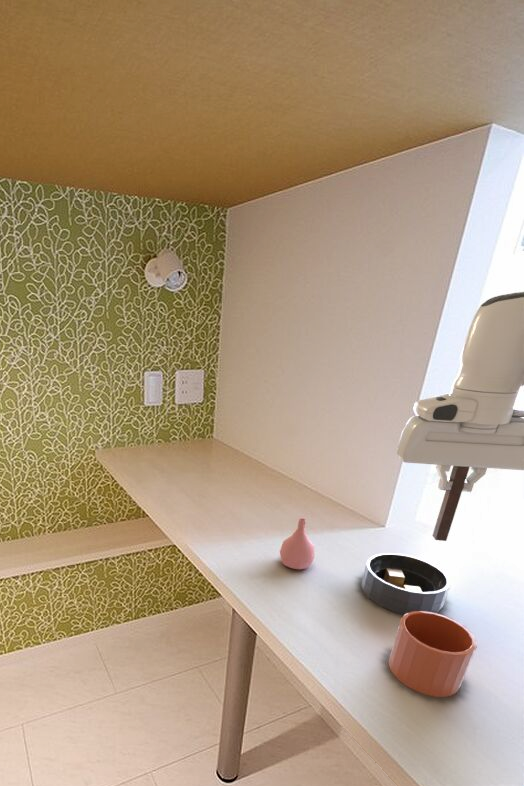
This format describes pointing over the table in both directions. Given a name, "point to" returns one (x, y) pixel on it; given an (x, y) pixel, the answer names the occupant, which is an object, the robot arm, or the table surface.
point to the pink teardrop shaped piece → (297, 549)
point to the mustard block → (412, 588)
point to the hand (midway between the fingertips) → (453, 490)
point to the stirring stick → (450, 503)
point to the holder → (431, 653)
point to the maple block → (394, 577)
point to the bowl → (415, 574)
